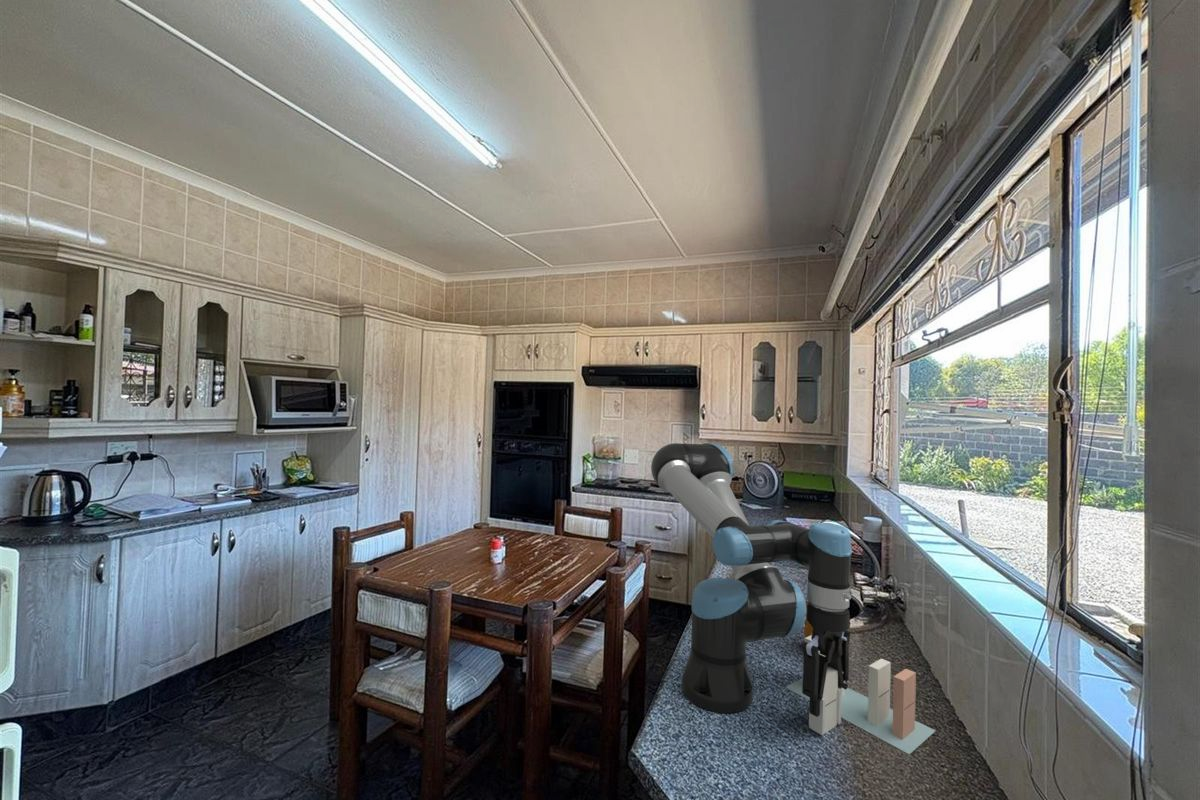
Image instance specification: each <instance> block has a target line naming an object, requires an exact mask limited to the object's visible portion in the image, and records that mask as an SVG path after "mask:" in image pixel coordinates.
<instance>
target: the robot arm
mask: <svg viewBox="0 0 1200 800" xmlns="http://www.w3.org/2000/svg"><path fill="white" fill-rule="evenodd" d="M651 460H652V461H651V466H650V469H651V470H650V471H651V475H652V478H653V480H654V482H655V484H657V485H658V488H660V489H661V490H662V491H664V493H665V492H666V493H669V494H671V495H672V496H673V497H674V498H675V500H676V501H677V502H678V503H679V504H680V505H681V506H682V507H683V508H684V509H685V510H686V511H687V512H688V514H689V515H690V516H691V517H692V518H693V519H694V520H695V521H696V522H697V523H698V524H699V526H701V528H702V529H704V530H705V531H706V532H707V534H708V535H709V536H710V537H711V538H712V539H711V547H712V551H713V552H714V554H715V559H717V561H718V562H719V563H720V564H722V565H724V566H730V568H731V570H732V573H733V575H734V578H731V577H722V576H721V577H718V576H717V577H711V578H707V579H704V580H701V581H700V582H699V583H697V584H696V586H695V588H694V589H693V592H692V600H691V601H692V602H691V637H690V638H691V640H690V642H691V643H690V654H689V656H688V658H687V661H686V664H685V667H684V669H683V672H682V675H681V689H682V690H681V691H682V693H683V694H684V696H685V697H686V698H687V699H688V700H689V701H690V702H691V703H692V704H694V705H696V706H699V707H700V708H702V709H705V710H708V711H711V712H715V713H721V714H722V713H723V714H731V713H733V714H734V713H739V712H743V711H746V710H747V709H748V708H749V707H750V706H751V705H752V704H753V701H754V685H753V682H752V678H751V675H750V672H749V668H748V665H747V662H746V653H747V643H751V642H757V641H761V640H762V641H764V640H770V639H777V638H779V639H783V638H787V636H791V635H792V636H793V635H795V634H797V633H799V632H800V631H801V630H802V628H803V627H804V626H805V619H806V599H807V601H809V602H808V603H807V621H808V622H809V623H810V624H811V626H812V627H813V633H812V636H811V639H812V641H811V642H810V643H807V642H803V643H802V650H803V663H802V664H803V667H802V678H803V685H802V693H803V694H804V695H806V696H808V697H810V700H809V709H808V710H809V711H808V713H809V714H808V728H809V729H810V730H813V732H815V731H816V733H817V732H818V733H817V734H819V735H820V734H821V735H820V736H824V735H825V734H824V732H825V699H824V698H823V692H824V685H825V679H826V673H827V667H831V668H833V669H835V670H837V671H838V690H837V725H838V724H841V723H842V718H841V699H842V689H841V688H843V689H845V690H846V689H847V688H848V685H849V684H847V683H846V682H848V681H849V674H850V673H849V670H850V667H849V666H850V664H849V663H850V658H849V657H850V655H849V652H850V651H849V650H850V648H849V647H850V639H851V631H849V629H850V610H849V609H848V608H850V600H851V599H852V595H851V594H850V592H851V590H850V587H851V584H850V583H851V581H850V580H851V579H850V578H851V561H852V553H853V552H852V550H853V549H852V542H851V541H852V540H851V538H852V537H851V533H850V531H849V529H848V528H846V527H844V526H842V525H839V524H832V523H830V522H829V523H827V522H814V523H812V524H810V525H809V528H807V527H804V526H800V525H798V524H795V523H793V522H792V521H784V520H780V519H779V520H778V519H774V520H771V522H769V523H767V524H766V525H750V524H749V522H748V520H747V518H746V516H745V514H744V511H743V510H742V508H741V506H740V504H739V501H738V499H737V498H736V496H735V494H734V493H733V490H732V488H731V486H730V485H731V484H732V481H733V480H732V476H733V475H734V467H733V464H734V462H733V458H732V457H731V454H730V452H728V450H727V449H726V448H725V447H723V446H722V445H719V444H716V443H713V444H712V443H708V442H705V443H681V442H680V443H677V442H674V443H668V444H666V445H664V446H662V447H661V448H660V449H658V450H657V452H656V453H655V454H654V456H653V458H652V459H651ZM788 561H789V562H794V563H796V564H799V565H802V566H804V567H807V591H806V592H807V593H806V596H807V597H806V599H805V595H804V594H803V591H802V589H801V588H800V586H799V585H798V584H797V583H796V582H793V581H792V580H789V579H784V578H783V575H782V574H781V572H780V570H779V568H778V567H777V566H775V565H772V564H771V563H778V562H788ZM820 654H822V655H824V656H826V657H824V656H822V655H820ZM844 681H845V683H844Z"/></svg>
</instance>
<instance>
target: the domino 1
mask: <svg viewBox="0 0 1200 800" xmlns="http://www.w3.org/2000/svg"><path fill="white" fill-rule="evenodd" d="M837 690H838V671H837V670H835V669H833V668H831V667H827V673H826V679H825V685H824V692H823V698H824V699H825V732H824V735H826V734H827V732H829V731H831V730H832V729H833V728H835V727H837V725H838V723H837ZM814 732H816V731H814ZM816 733H817V734H819V733H818V732H816ZM819 735H820V736H822V735H821V734H819Z"/></svg>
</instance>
